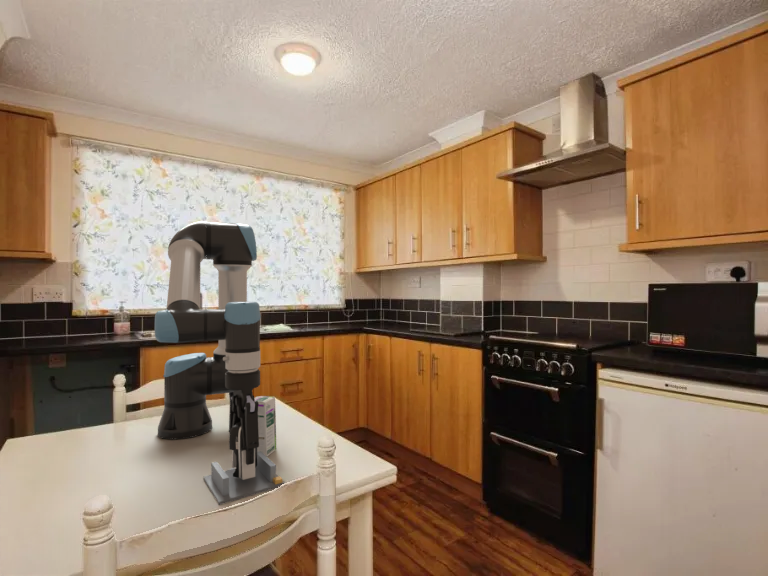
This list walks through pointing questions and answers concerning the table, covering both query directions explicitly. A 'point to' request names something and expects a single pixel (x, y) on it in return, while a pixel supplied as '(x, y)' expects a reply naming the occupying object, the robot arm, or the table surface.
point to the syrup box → (266, 424)
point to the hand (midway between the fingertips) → (243, 471)
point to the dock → (242, 481)
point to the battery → (238, 448)
